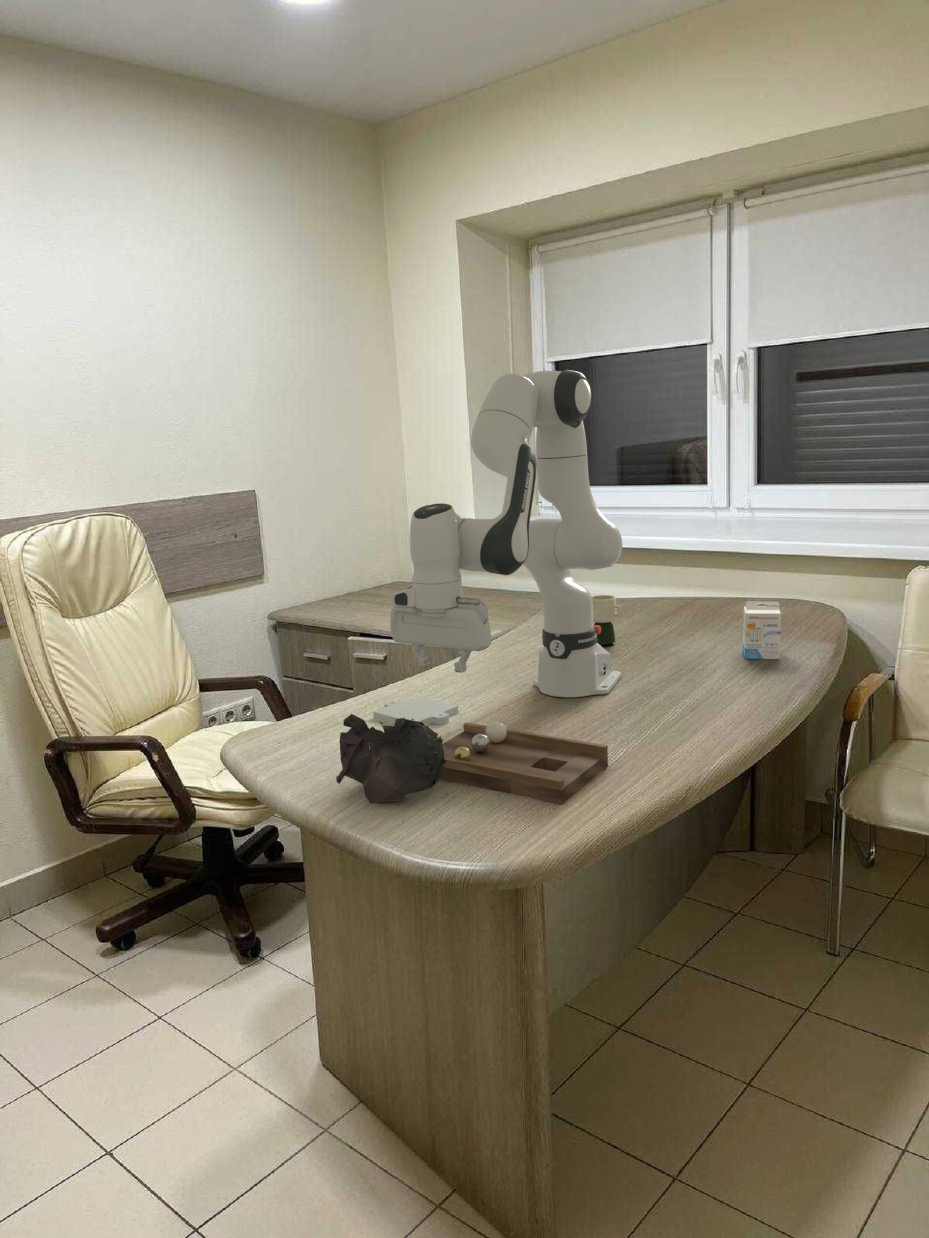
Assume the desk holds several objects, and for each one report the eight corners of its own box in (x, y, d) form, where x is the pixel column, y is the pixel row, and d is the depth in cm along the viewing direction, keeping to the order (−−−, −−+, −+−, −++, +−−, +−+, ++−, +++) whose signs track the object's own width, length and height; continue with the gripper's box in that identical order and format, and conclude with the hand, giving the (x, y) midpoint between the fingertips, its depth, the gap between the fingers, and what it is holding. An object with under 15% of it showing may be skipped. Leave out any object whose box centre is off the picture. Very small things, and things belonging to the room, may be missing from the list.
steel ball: (478, 747, 168) (477, 730, 168) (493, 750, 167) (492, 732, 166) (468, 753, 166) (467, 735, 165) (484, 756, 164) (483, 738, 163)
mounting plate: (366, 718, 198) (365, 709, 198) (409, 702, 207) (408, 694, 207) (424, 733, 186) (423, 725, 185) (467, 716, 195) (466, 708, 195)
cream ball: (493, 737, 173) (492, 717, 172) (511, 740, 171) (510, 720, 170) (481, 744, 170) (480, 723, 169) (500, 747, 168) (499, 726, 167)
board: (467, 741, 179) (466, 722, 178) (608, 766, 162) (607, 745, 162) (413, 773, 164) (411, 752, 163) (561, 804, 148) (560, 781, 147)
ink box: (744, 659, 225) (744, 606, 222) (742, 650, 233) (742, 599, 230) (780, 659, 223) (782, 606, 220) (777, 650, 231) (778, 599, 228)
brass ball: (460, 758, 163) (459, 743, 163) (474, 761, 162) (473, 745, 161) (451, 764, 161) (450, 748, 160) (465, 767, 159) (464, 751, 158)
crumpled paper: (322, 803, 152) (430, 824, 144) (323, 718, 150) (433, 735, 142) (364, 779, 164) (465, 797, 157) (365, 700, 162) (468, 714, 155)
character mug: (628, 643, 246) (627, 596, 243) (615, 649, 241) (614, 601, 238) (592, 639, 253) (591, 593, 250) (579, 645, 247) (578, 598, 244)
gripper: (496, 595, 161) (499, 671, 164) (403, 589, 172) (408, 659, 175) (477, 602, 156) (481, 680, 159) (383, 595, 167) (388, 668, 170)
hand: (442, 669), depth 167 cm, fingers open, 7 cm apart
